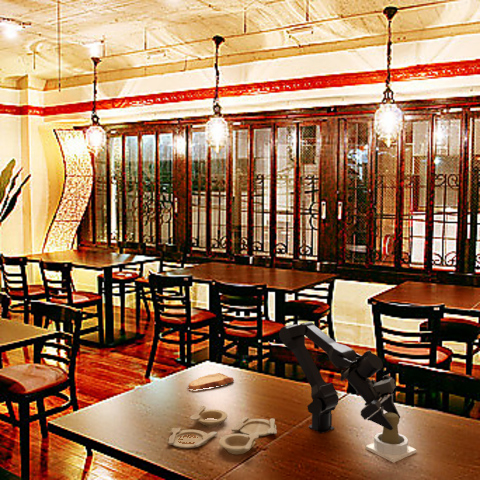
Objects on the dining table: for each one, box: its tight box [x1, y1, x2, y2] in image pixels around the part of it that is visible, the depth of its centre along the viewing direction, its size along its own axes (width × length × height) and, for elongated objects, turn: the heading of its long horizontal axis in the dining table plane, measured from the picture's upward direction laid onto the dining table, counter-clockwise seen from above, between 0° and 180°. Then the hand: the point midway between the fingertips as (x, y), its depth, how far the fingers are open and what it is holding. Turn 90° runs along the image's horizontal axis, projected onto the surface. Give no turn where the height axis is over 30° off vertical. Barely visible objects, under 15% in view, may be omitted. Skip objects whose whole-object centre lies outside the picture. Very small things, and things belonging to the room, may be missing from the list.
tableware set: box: [167, 405, 278, 455], centre depth 189 cm, size 35×29×4 cm
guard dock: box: [365, 431, 417, 464], centre depth 177 cm, size 11×11×4 cm
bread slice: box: [187, 372, 235, 390], centre depth 237 cm, size 18×18×4 cm
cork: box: [381, 412, 400, 444], centre depth 176 cm, size 6×6×11 cm
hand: (395, 423), depth 175 cm, fingers open, 9 cm apart
